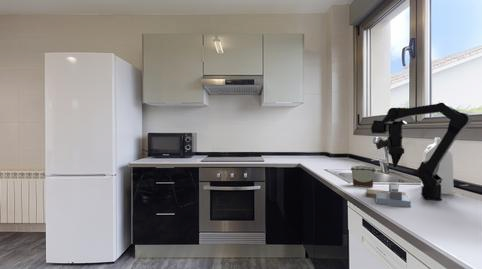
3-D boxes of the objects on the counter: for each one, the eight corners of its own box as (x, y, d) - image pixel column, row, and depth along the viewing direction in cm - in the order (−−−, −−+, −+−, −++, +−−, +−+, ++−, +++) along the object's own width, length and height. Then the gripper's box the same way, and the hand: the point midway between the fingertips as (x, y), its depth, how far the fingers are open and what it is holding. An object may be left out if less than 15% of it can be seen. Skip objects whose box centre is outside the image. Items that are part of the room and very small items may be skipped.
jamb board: (405, 195, 128) (405, 190, 128) (407, 200, 120) (407, 195, 120) (366, 192, 135) (366, 187, 135) (366, 196, 127) (366, 191, 127)
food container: (375, 185, 151) (376, 166, 151) (375, 187, 146) (376, 168, 146) (351, 183, 157) (351, 165, 156) (350, 185, 151) (350, 166, 151)
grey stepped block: (407, 200, 120) (407, 188, 119) (410, 206, 110) (410, 193, 110) (376, 197, 125) (376, 185, 125) (376, 203, 115) (376, 190, 115)
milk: (453, 194, 131) (455, 138, 131) (424, 192, 136) (425, 137, 136) (447, 189, 142) (448, 137, 142) (420, 187, 147) (421, 137, 146)
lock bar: (388, 190, 127) (389, 182, 127) (398, 191, 126) (398, 183, 126) (389, 196, 116) (389, 188, 116) (399, 197, 114) (399, 189, 114)
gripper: (376, 133, 147) (375, 163, 147) (376, 134, 130) (376, 168, 130) (400, 134, 142) (400, 165, 142) (404, 134, 125) (404, 170, 125)
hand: (394, 167), depth 135 cm, fingers closed
